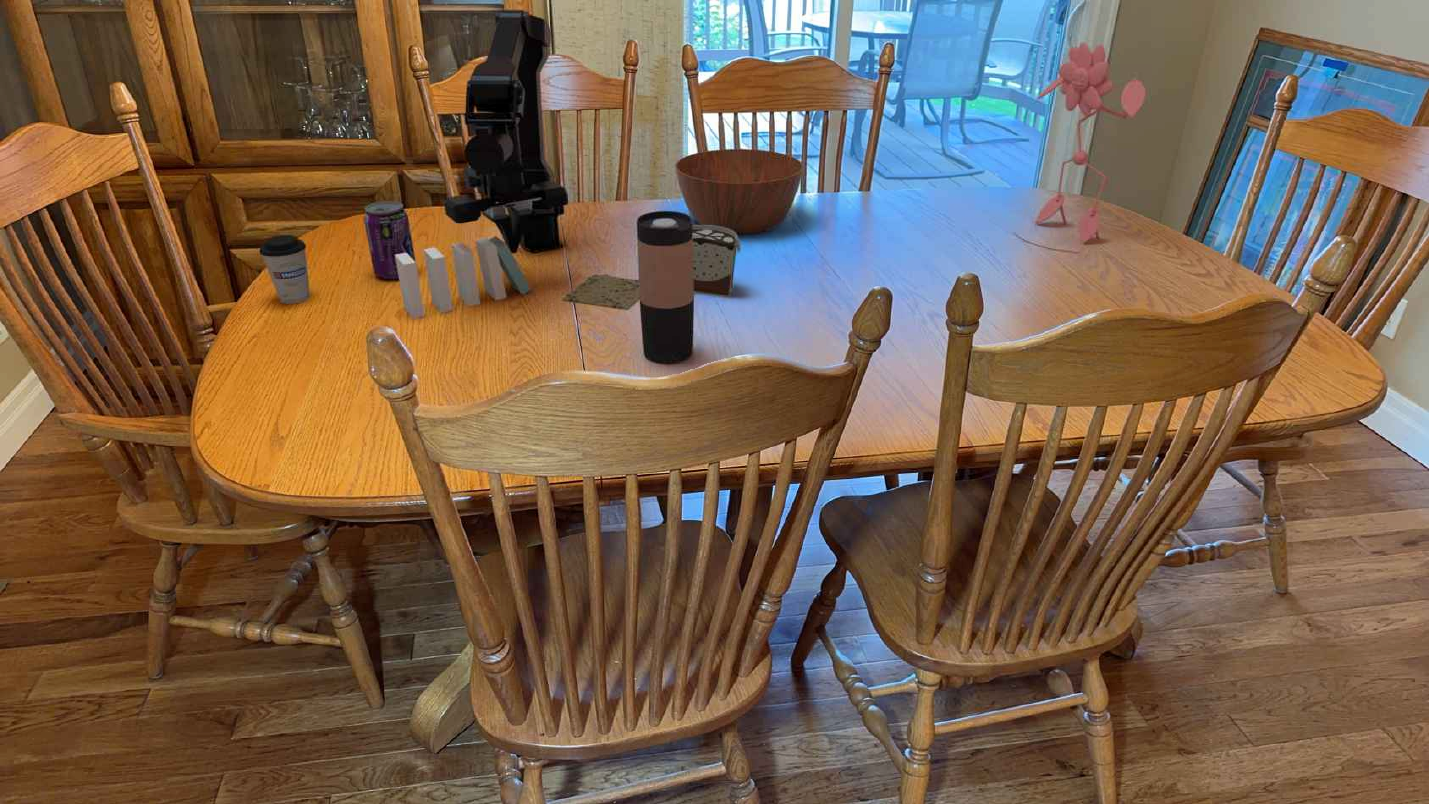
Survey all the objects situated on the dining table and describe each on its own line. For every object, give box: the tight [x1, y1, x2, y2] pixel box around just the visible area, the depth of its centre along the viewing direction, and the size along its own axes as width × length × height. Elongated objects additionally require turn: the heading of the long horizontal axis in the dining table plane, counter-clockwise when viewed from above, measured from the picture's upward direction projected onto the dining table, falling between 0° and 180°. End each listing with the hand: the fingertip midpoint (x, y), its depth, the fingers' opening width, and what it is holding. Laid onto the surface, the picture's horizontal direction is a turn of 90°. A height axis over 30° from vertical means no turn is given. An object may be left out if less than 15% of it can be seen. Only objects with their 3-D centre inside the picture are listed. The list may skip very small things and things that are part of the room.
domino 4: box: [474, 236, 508, 301], centre depth 149 cm, size 2×5×9 cm, turn 32°
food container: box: [692, 224, 742, 298], centre depth 152 cm, size 12×6×10 cm, turn 71°
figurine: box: [1012, 42, 1146, 254], centre depth 168 cm, size 15×26×35 cm, turn 23°
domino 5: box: [488, 235, 532, 296], centre depth 151 cm, size 2×5×9 cm, turn 32°
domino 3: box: [450, 242, 481, 308], centre depth 148 cm, size 2×5×9 cm, turn 32°
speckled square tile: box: [562, 274, 640, 311], centre depth 153 cm, size 12×12×1 cm
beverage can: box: [363, 200, 418, 280], centre depth 157 cm, size 7×7×12 cm
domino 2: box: [423, 246, 454, 314], centre depth 145 cm, size 2×5×9 cm, turn 32°
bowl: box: [675, 148, 805, 235], centre depth 182 cm, size 25×25×11 cm
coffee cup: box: [258, 234, 311, 305], centre depth 148 cm, size 7×7×10 cm
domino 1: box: [395, 253, 426, 320], centre depth 143 cm, size 2×5×9 cm, turn 32°
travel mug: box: [636, 210, 695, 365], centre depth 128 cm, size 8×8×20 cm
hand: (513, 252), depth 150 cm, fingers closed
